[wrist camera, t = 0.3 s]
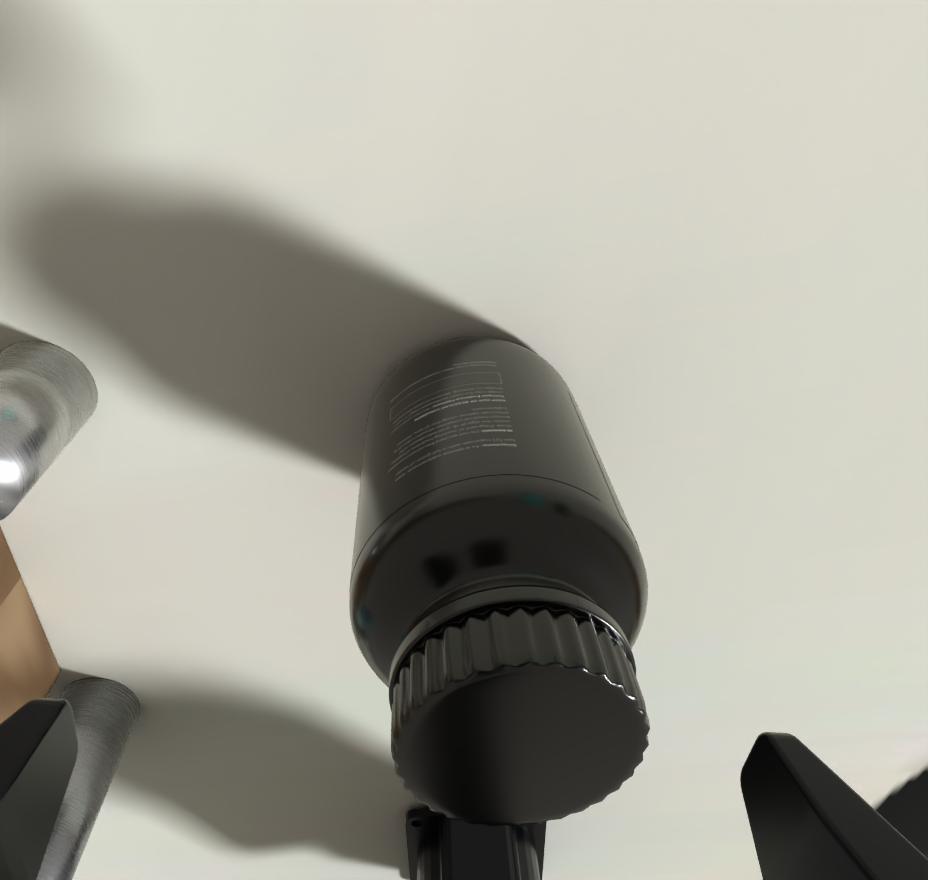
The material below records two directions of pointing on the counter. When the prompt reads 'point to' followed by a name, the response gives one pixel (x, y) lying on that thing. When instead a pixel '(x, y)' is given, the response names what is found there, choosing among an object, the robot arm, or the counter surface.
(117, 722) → the long pin
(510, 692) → the supplement bottle
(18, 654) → the hole block
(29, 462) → the short pin
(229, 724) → the counter surface
